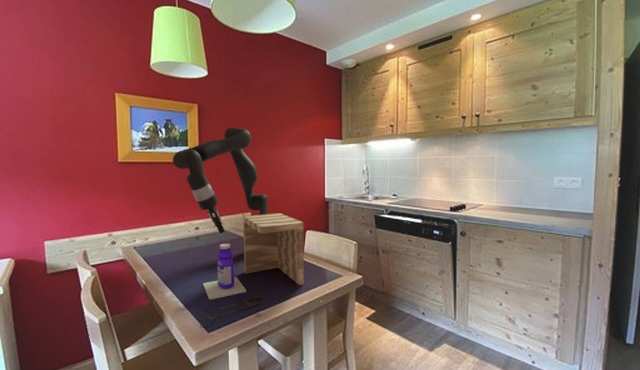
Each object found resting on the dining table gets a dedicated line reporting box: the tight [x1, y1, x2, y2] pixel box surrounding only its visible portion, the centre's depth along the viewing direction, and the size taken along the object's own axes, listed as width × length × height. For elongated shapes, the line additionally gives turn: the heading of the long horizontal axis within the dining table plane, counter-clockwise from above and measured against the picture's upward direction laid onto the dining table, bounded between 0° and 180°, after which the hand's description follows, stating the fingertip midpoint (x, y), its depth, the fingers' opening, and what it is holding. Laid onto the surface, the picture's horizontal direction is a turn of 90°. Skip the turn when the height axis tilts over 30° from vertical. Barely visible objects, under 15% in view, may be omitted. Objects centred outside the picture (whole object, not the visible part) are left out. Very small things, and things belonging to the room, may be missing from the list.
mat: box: [202, 276, 247, 300], centre depth 121 cm, size 16×14×1 cm
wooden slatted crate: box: [242, 212, 305, 286], centre depth 130 cm, size 26×18×26 cm
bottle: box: [216, 243, 235, 289], centre depth 121 cm, size 7×6×17 cm
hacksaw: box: [199, 295, 263, 329], centre depth 102 cm, size 24×10×2 cm, turn 124°
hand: (221, 228), depth 127 cm, fingers open, 8 cm apart
